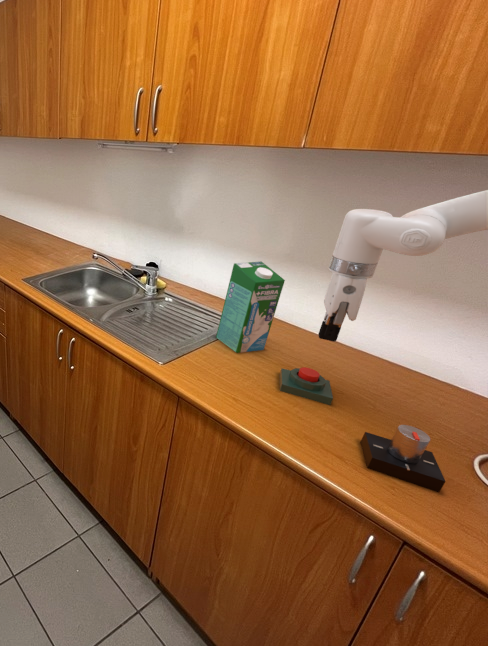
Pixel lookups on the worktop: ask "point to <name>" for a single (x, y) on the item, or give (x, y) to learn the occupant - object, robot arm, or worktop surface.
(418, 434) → the dial
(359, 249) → the robot arm
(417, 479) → the dial panel
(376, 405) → the worktop surface
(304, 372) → the button
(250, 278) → the milk carton
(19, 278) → the worktop surface
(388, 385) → the worktop surface
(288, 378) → the button block
